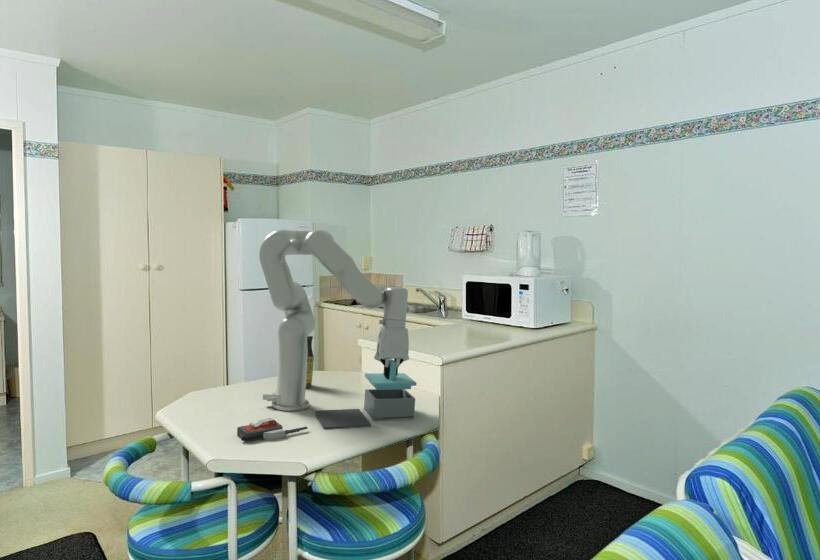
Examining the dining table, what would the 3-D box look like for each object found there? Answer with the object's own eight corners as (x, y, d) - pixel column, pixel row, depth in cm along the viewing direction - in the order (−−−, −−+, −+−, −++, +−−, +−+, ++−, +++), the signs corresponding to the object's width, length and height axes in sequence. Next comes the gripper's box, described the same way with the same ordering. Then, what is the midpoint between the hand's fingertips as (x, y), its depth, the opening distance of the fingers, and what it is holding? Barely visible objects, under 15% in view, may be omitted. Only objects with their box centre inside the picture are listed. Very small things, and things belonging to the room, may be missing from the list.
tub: (373, 421, 174) (374, 399, 173) (363, 409, 185) (365, 389, 185) (413, 419, 178) (415, 398, 178) (402, 407, 190) (403, 388, 189)
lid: (374, 391, 173) (375, 365, 172) (364, 380, 184) (366, 356, 184) (415, 390, 178) (417, 364, 177) (403, 380, 189) (405, 356, 189)
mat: (323, 429, 163) (323, 427, 163) (314, 412, 178) (315, 410, 178) (371, 426, 168) (371, 424, 168) (358, 410, 183) (359, 408, 183)
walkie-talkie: (245, 447, 147) (309, 433, 160) (245, 431, 146) (309, 419, 160) (231, 436, 153) (294, 424, 167) (232, 421, 153) (295, 410, 166)
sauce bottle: (302, 389, 204) (305, 337, 203) (291, 385, 208) (294, 334, 207) (315, 386, 210) (318, 335, 208) (304, 382, 213) (307, 333, 212)
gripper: (374, 325, 173) (370, 381, 175) (420, 326, 179) (415, 380, 180) (368, 321, 181) (364, 375, 182) (412, 322, 186) (408, 374, 187)
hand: (390, 377), depth 181 cm, fingers closed on lid
